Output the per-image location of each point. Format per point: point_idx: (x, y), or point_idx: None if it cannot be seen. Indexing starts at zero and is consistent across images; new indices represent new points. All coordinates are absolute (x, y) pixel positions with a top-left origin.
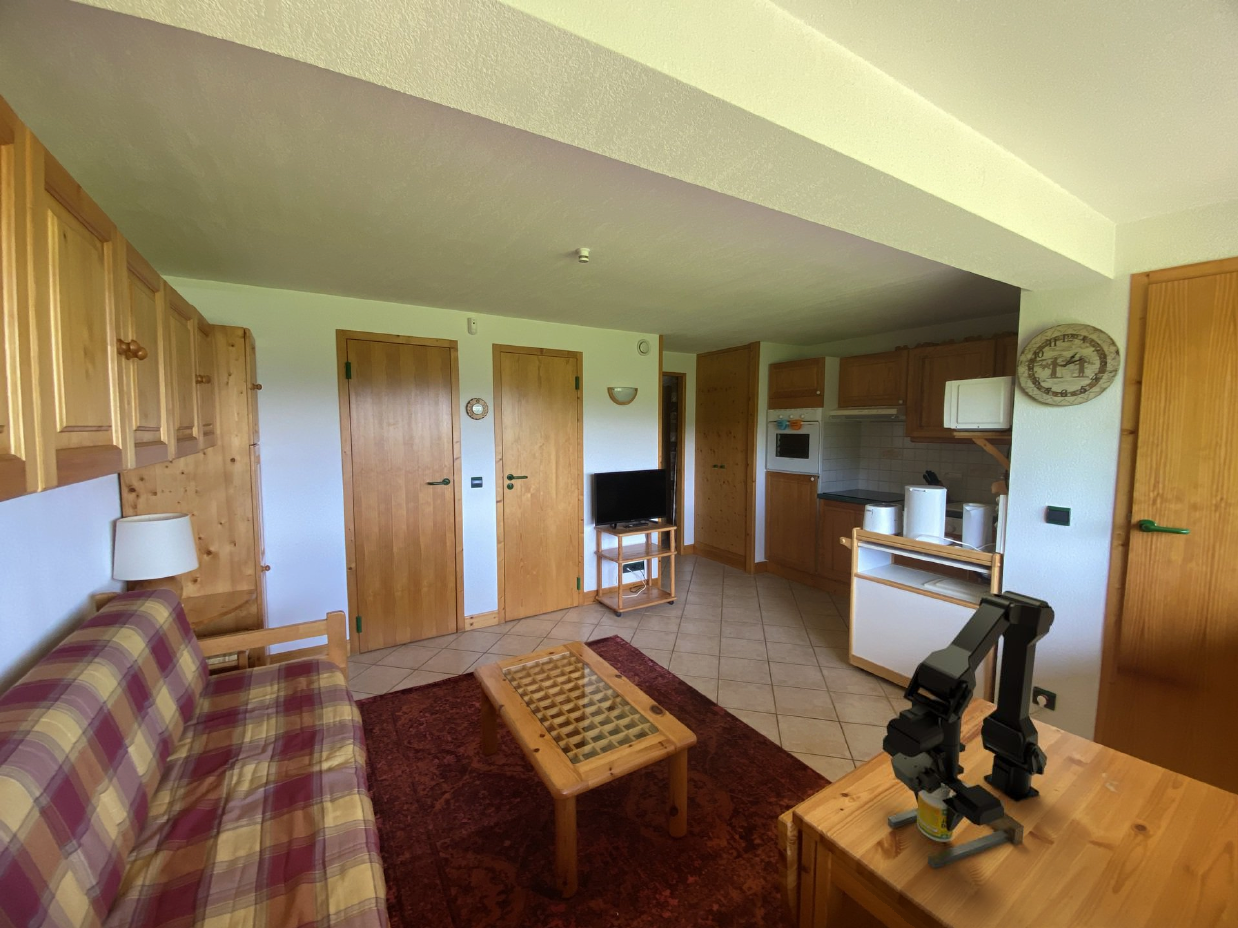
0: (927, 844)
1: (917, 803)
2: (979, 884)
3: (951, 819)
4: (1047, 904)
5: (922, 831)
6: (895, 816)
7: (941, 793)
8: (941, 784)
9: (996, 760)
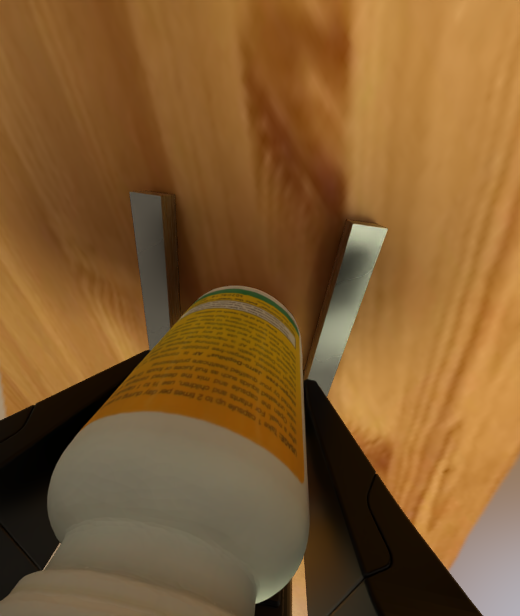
0: (233, 273)
1: (314, 380)
2: (79, 276)
3: (44, 401)
4: (26, 358)
5: (248, 287)
6: (365, 265)
7: None
8: None
9: None
